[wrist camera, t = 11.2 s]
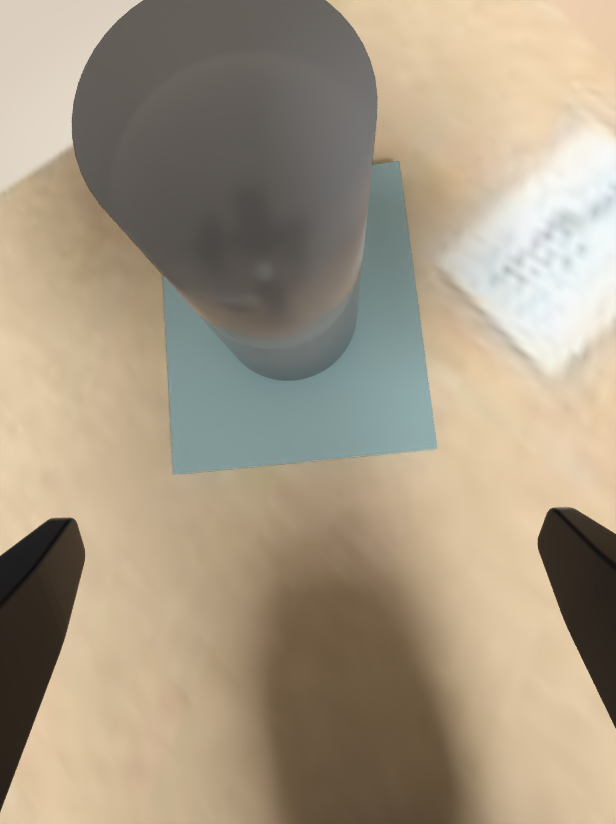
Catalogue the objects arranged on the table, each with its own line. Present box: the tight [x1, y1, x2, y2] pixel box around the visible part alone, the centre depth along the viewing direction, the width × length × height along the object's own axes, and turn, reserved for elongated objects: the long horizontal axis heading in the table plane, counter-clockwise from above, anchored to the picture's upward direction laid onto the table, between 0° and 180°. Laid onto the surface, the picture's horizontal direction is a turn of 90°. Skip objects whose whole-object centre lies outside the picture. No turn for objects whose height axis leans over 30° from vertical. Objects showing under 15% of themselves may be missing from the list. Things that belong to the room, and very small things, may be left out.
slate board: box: [163, 161, 437, 474], centre depth 23 cm, size 14×12×1 cm
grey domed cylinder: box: [72, 0, 377, 381], centre depth 16 cm, size 6×6×13 cm
